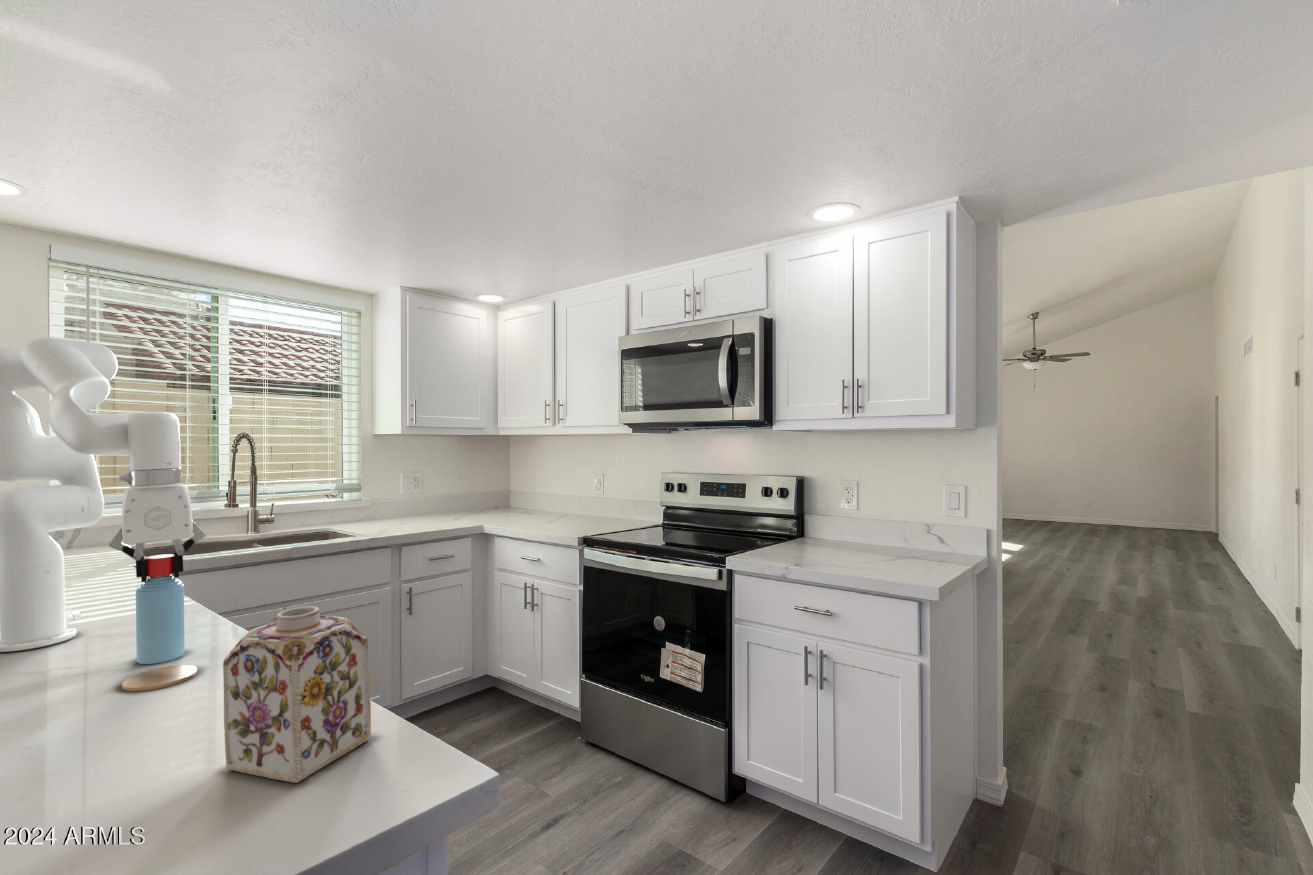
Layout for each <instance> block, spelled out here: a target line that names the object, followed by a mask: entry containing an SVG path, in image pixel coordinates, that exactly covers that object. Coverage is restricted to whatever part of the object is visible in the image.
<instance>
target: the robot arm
mask: <svg viewBox="0 0 1313 875" xmlns="http://www.w3.org/2000/svg"><path fill="white" fill-rule="evenodd" d="M117 371H118V360H117V357H116V355H115V354H114V353H113V351H112V350H111V349H110V348H109V347H108V346H105V345H104V344H102V343H99V342H94V341H84V340H75V339H66V338H57V337H42V338H37V339H33V340H30V341H29V342H27V343H26V344H25V345H24V346H23V347H22V348H18V347H17V348H15V347H1V346H0V481H2V482H7V483H31V482H49V481H58V482H59V484H53V485H52V484H49V485H48V484H47V485H33V486H21V487H15V488H10V489H7V490H4V491H1V492H0V653H6V652H7V653H9V652H19V651H27V650H33V649H37V648H38V649H39V648H43V647H48V646H51V645H55V644H58V643H62V642H66V641H68V640H71V639H73V638H74V637H75V636H76V635H77V629H76V628H75V627H69V624H70V623H71V622H74V621H77V620H79V619H80V618H81V617H82V614H81V612H80V611H79V610H74V611H71V612H68V611H67V612H66V582H65V579H66V578H65V556H64V551H63V549H62V547H61V545H60V544H59V543H58V542H57V541H56V540H54V539H53V537H52V536H50V534H49V533H50V532H57V531H64V530H72V529H79V528H86V527H90V526H93V525H95V524H96V523H98V522H99V521H100V520H101V519H102V517H103V515H104V512H105V499H104V495H103V491H102V487H101V482H100V477H99V472H98V468H97V464H96V460H95V457H94V455H95V456H96V455H115V454H116V455H117V454H118V455H119V454H121V455H128V469H129V471H128V472H127V473H124V474H121V475H120V474H119V476H118V477H119V479H118V482H119V483H121V484H122V483H125V484H128V485H129V488H124V491H123V497H122V506H121V528H120V529H119V530H118V531H117V533H116V534H115V535H114V537H113V538H112V539H111V540H110V541H109V543H108V547H109V548H112V549H114V550H116V551H120V552H122V553H124V554H125V555H127V556H129V557H130V558H131V559H133V560H134V561H135V575H136V579H137V578H141V580H140V581H141V583H144V582H145V581H147V579H148V577H147V576H146V556H145V554H144V549H145V545H146V544H149V543H157V542H158V543H159V542H160V543H161V542H167V541H168V542H169V541H172V543H173V546H174V550H175V551H174V554H173V555H174V556H173V560H174V573H173V577H175V578H180V573H183V572H184V554H185V553H186V552H187V551H188V550H189V549H190V548H191V547H192V546H194V545H195V544H196V543H198V542H200V541H201V540H202V539H203V538H205V537H206V533H205V531H203V529H201V527H200V526H199V525H197V523H196V522H195V521H194V520H193V512H192V511H193V510H192V503H191V496H190V492H189V489H188V485H186V484H183V483H182V482H183V481H182V479H183V478H182V465H181V464H182V461H181V460H182V459H181V457H182V456H181V438H180V437H181V435H180V420H179V418H178V416H177V415H176V414H174V413H171V412H160V411H159V412H157V411H155V412H154V411H153V412H152V411H151V412H150V411H149V412H136V413H108V412H105V413H104V412H88V411H89V410H91V409H94V408H96V407H98V406H99V405H101V404H102V403H103V402H104V401H105V400H106V399H107V398H108V396H109V394H110V391H111V385H110V381H112V379H114V377H115V376H116V374H117ZM15 391H28V392H29V391H30V392H48V393H49V394H50V395H51V396H52V397H51V399H50V401H49V404H48V408H47V416H48V417H47V418H48V423H49V425H50V428H51V430H52V432H53V433H54V434H55V435H47V434H45V433H44V431H43V430H42V426H41V421H40V417H39V414H38V412H37V411H36V410H35V408H33V407H32V405H30V403H29V402H27V401H26V399H24V398H23V397H21V396H20V395H18V394H17V393H16V392H15ZM192 534H193V535H192ZM190 536H191V537H190ZM187 538H188V539H187ZM184 539H186V540H185V541H184V542H183V541H182V540H184ZM123 542H124V543H123ZM125 543H126V544H125ZM130 544H131V545H135V547H133V546H131V545H130Z"/></svg>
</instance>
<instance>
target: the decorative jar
mask: <svg viewBox="0 0 1313 875" xmlns="http://www.w3.org/2000/svg"><path fill="white" fill-rule="evenodd" d="M369 654H370V653H369V640H368V638H367V636H365V635H364V633H363V632H362V631H361V629H358V627H357V626H356V625H355V624H354V623H352V622H351V621H350V620H349V619H348V618H347V617H343V616H334V615H321V612H320V608H319V607H318V606H315V605H306V606H305V605H304V606H298V607H297V606H296V607H293V608H289V609H284V610H282V611H280V612H278V613H277V614H276V621H275V622H271V623H268V624H264V625H260V626H258V627H255V628H253V629H250V630H249V631H248V632H247V633H246V634H245V635H244V636H243V637H242V638H241V639H240V640H239V641H238V642H237V643H236V644H235V646H234V647H233V648H232V649H231V650H230V652H229V653H228V655H226V657H225V658H224V659H223V662H222V664H223V665H222V669H223V670H222V671H223V672H222V673H223V674H222V675H223V677H222V678H223V730H224V733H223V734H224V753H225V769H226V770H227V771H234V772H239V773H243V774H247V775H253V776H257V777H262V778H266V779H270V780H275V781H276V780H277V781H283V782H289V783H292V784H297V783H299V782H301V781H303V780H305V779H307V778H308V777H309V776H311V775H313V774H314V773H316V772H318V771H319V770H321V769H323V768H324V767H326V766H328V765H330V764H331V763H333V762H334V761H336V760H337V759H339V758H341V757H343V756H344V755H347V753H349V752H351V751H352V750H354V749H356V748H357V747H359V746H361V745H362V744H364V743H366V742H368V741H369V740H370V738H371V736H372V709H371V707H372V706H371V705H372V704H371V703H372V701H371V681H370V680H371V679H370V656H369Z"/></svg>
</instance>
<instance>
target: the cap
mask: <svg viewBox="0 0 1313 875" xmlns="http://www.w3.org/2000/svg"><path fill="white" fill-rule="evenodd" d="M174 555H175V554H167V553H166V554H155V555H149V556H147V557H146V556H145V559H146V576H147V578H148V577H159V576H166V575H174V560H173V556H174Z"/></svg>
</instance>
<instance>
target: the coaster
mask: <svg viewBox="0 0 1313 875" xmlns="http://www.w3.org/2000/svg"><path fill="white" fill-rule="evenodd" d="M196 675H198V668H197V666H195V665H189V664H179V665H178V664H177V665H169V666H163V667H158V668H152V669H149V670H145V671H142V672H139V673H137V674H134V675H131V676H129V677H127V678H125V679H124V680H123V681H122V683H121V689H122V690H123V691H125V692H126V691H127V692H144V691H152V690H159V689H162V688H168V687H171V686H174V685H178V684H181V683H183V682H186V681H188V680H190V679H192V678H194V677H195V676H196Z"/></svg>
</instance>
